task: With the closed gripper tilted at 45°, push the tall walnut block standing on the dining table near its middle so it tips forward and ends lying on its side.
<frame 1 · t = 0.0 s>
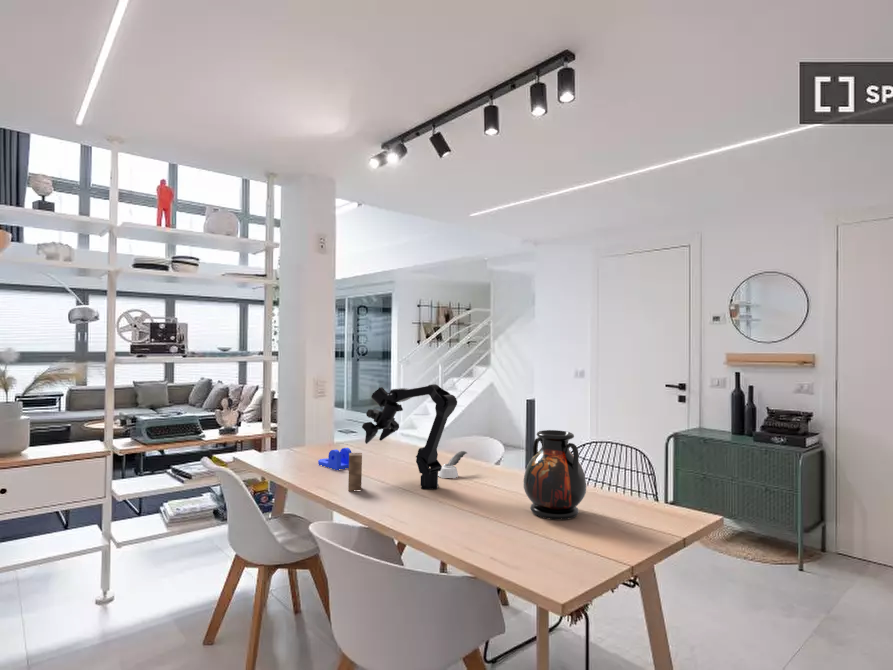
hand: (373, 441, 230), 15 cm above the table, tool tilted 35°, fingers open, 9 cm apart
inkwell: (454, 475, 234), on the table
bracket: (333, 466, 247), on the table
walnut block: (354, 489, 207), on the table
amphora vase: (554, 513, 182), on the table
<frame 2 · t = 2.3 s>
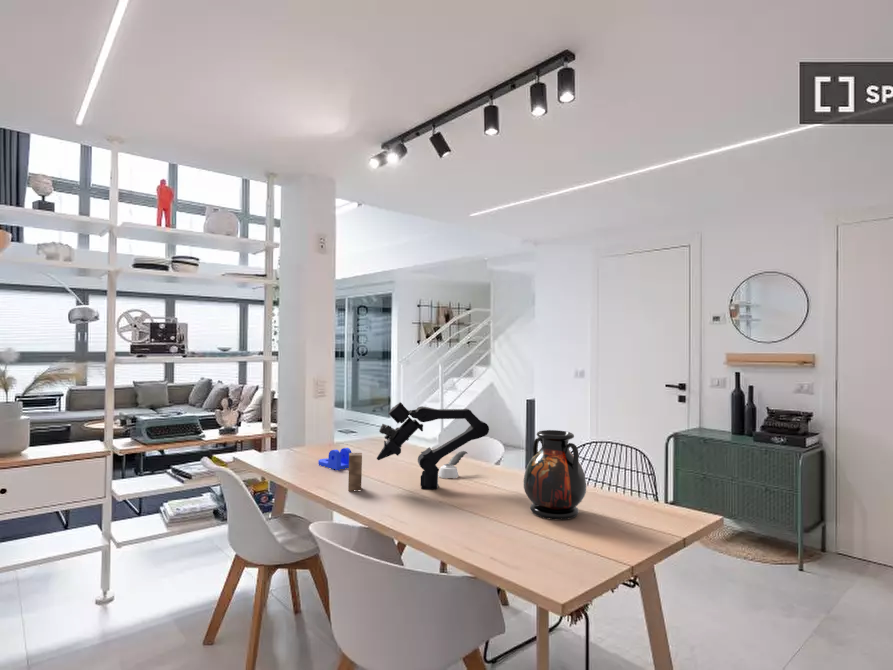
hand: (377, 459, 209), 12 cm above the table, tool tilted 45°, fingers closed
nothing on the table moved.
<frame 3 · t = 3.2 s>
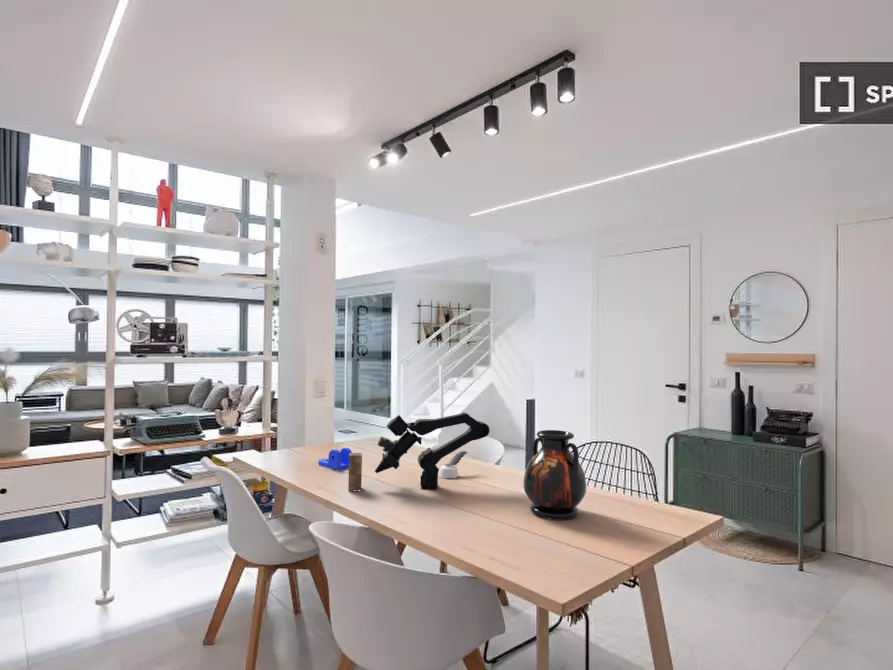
hand: (375, 472, 208), 7 cm above the table, tool tilted 45°, fingers closed
nothing on the table moved.
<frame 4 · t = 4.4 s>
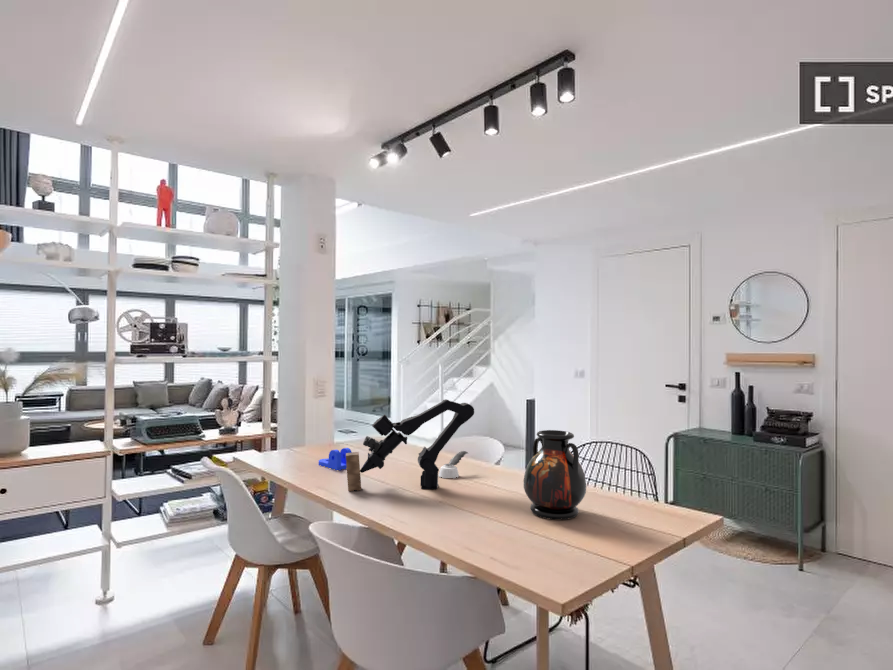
hand: (360, 471, 207), 7 cm above the table, tool tilted 45°, fingers closed
walnut block: (354, 489, 207), on the table, tilted 5°
everything else where it was.
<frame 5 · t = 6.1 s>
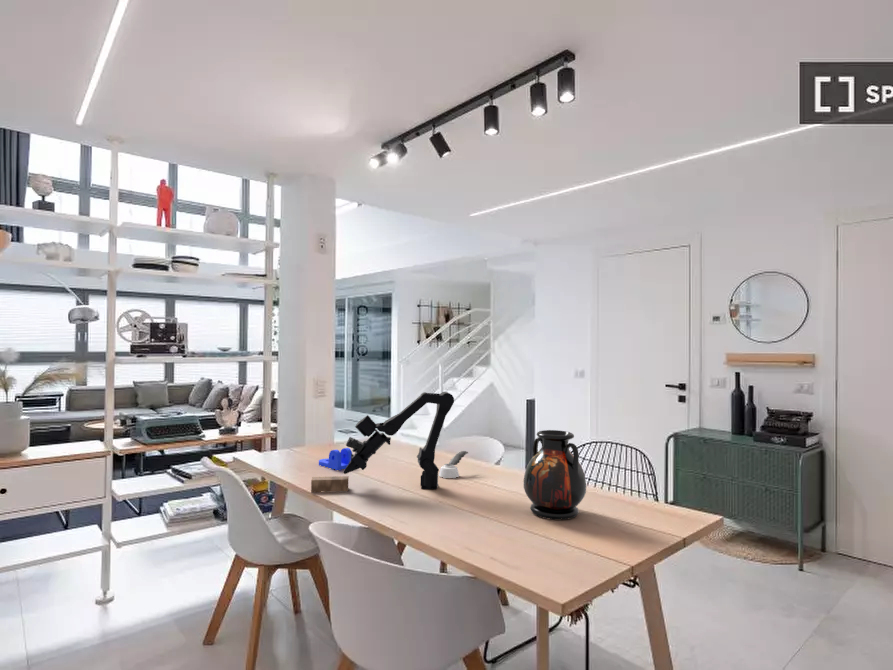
hand: (343, 473, 206), 7 cm above the table, tool tilted 45°, fingers closed
walnut block: (348, 484, 206), point 2 cm above the table, tilted 90°
everything else where it was.
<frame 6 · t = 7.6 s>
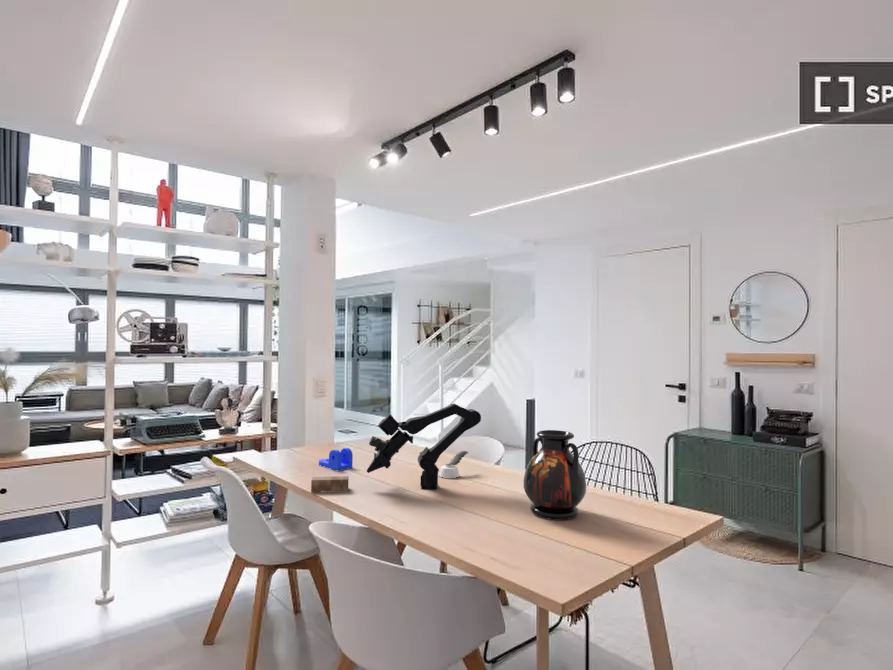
hand: (367, 471, 208), 7 cm above the table, tool tilted 45°, fingers closed
nothing on the table moved.
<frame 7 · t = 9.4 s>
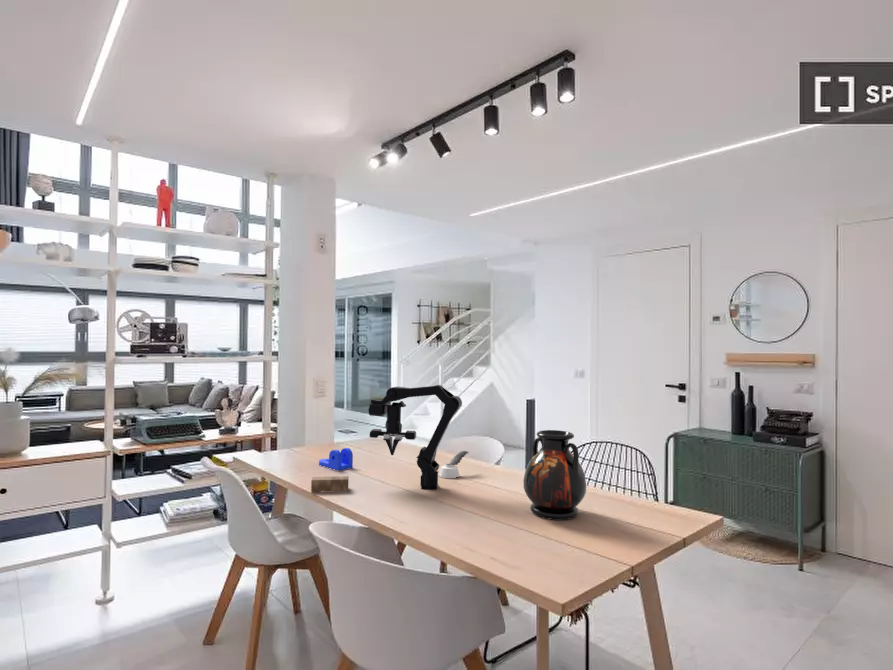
hand: (392, 455, 216), 12 cm above the table, tool pointing down, fingers closed
nothing on the table moved.
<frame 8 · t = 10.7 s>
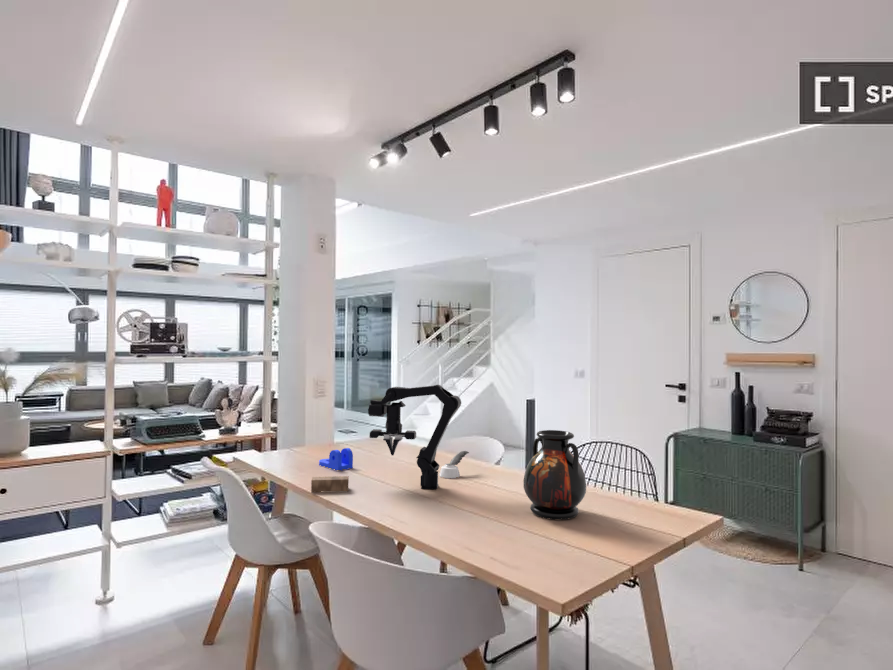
hand: (392, 455, 216), 12 cm above the table, tool pointing down, fingers closed
nothing on the table moved.
at the end: walnut block tilted 90°; walnut block inside the target area (0.6 cm from its centre), point 2.2 cm above the table; the gripper is holding nothing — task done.
